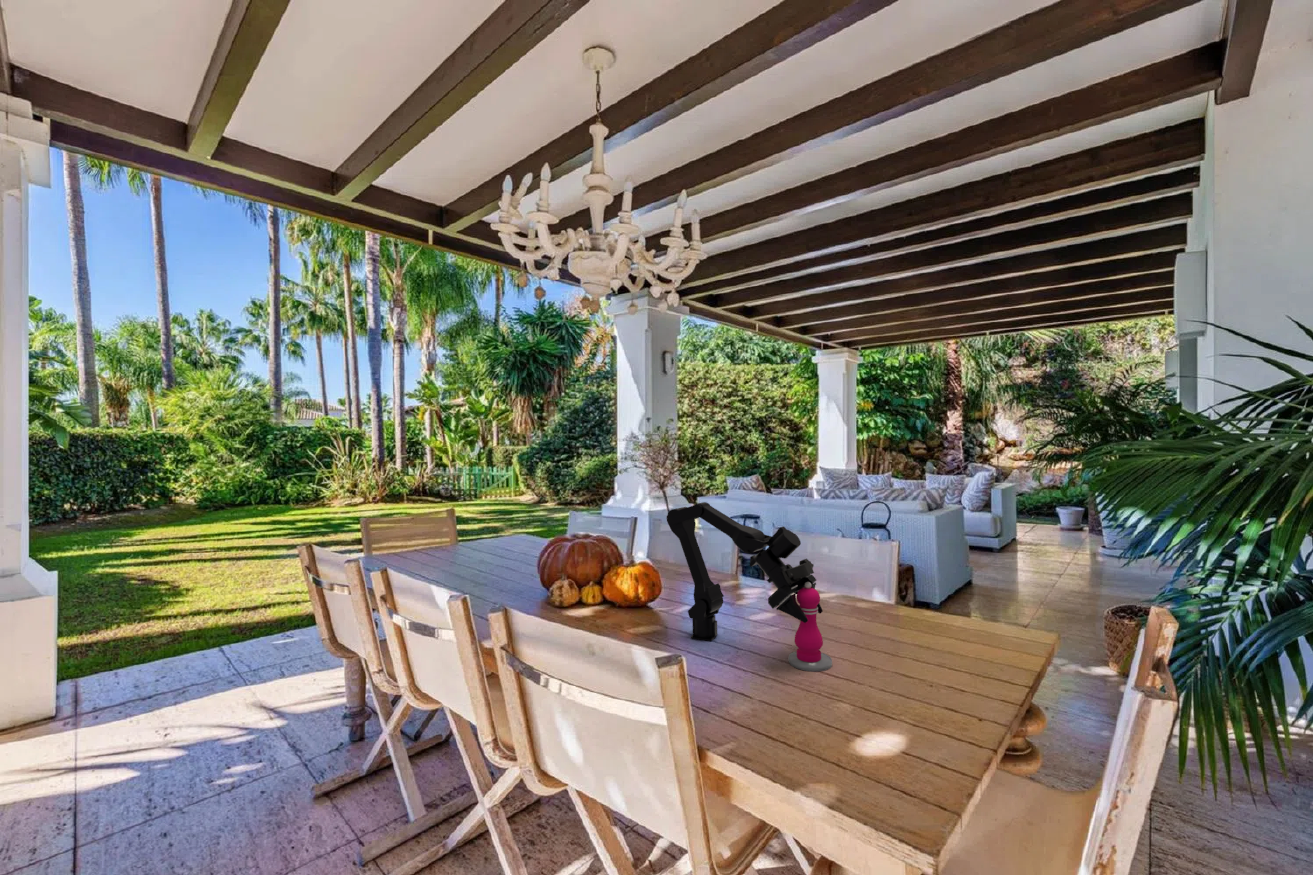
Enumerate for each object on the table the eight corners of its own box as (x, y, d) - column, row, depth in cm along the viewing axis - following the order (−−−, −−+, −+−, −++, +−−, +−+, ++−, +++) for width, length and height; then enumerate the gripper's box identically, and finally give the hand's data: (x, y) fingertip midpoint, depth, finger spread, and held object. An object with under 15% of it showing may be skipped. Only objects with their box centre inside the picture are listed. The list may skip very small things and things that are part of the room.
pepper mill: (820, 652, 156) (819, 578, 155) (825, 663, 149) (824, 585, 148) (793, 652, 156) (792, 578, 156) (796, 662, 149) (795, 585, 149)
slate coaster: (785, 667, 149) (785, 663, 149) (792, 652, 160) (792, 648, 160) (829, 674, 145) (829, 669, 145) (834, 657, 155) (834, 653, 155)
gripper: (778, 557, 147) (820, 608, 140) (809, 544, 162) (848, 590, 155) (751, 583, 152) (790, 633, 145) (783, 569, 167) (821, 614, 160)
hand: (814, 617), depth 151 cm, fingers open, 9 cm apart
